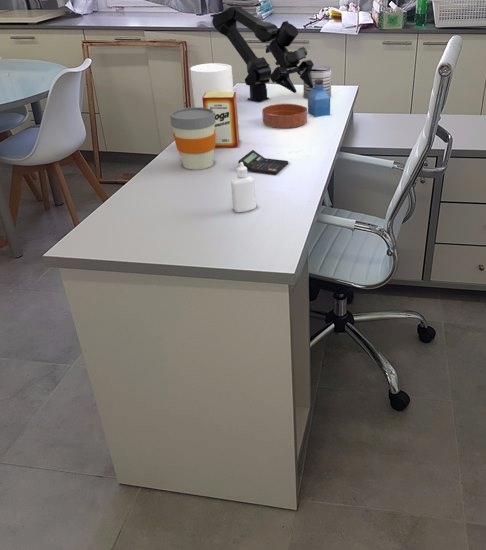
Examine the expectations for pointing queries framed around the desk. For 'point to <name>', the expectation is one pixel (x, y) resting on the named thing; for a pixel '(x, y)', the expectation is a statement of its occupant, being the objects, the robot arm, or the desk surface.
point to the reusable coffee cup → (194, 136)
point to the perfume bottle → (318, 100)
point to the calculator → (262, 163)
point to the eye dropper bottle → (243, 190)
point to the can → (319, 73)
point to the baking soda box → (223, 117)
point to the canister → (210, 80)
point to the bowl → (284, 115)
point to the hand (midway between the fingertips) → (304, 89)
